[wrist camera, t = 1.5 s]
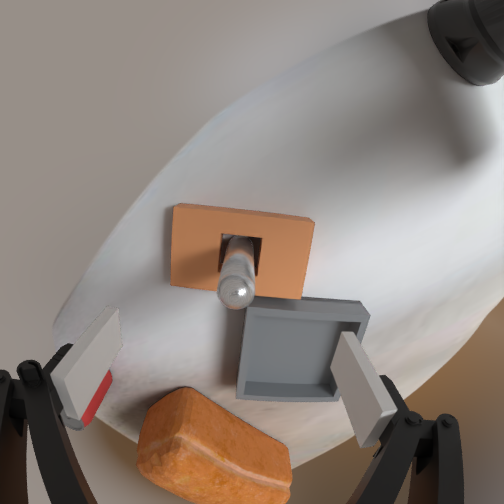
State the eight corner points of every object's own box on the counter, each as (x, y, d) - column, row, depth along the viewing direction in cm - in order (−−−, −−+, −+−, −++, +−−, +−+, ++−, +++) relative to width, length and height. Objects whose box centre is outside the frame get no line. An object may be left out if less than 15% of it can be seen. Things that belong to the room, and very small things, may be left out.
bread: (243, 468, 48) (243, 527, 33) (141, 410, 42) (117, 478, 27) (294, 445, 46) (304, 511, 30) (189, 378, 40) (169, 461, 25)
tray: (359, 300, 36) (370, 315, 32) (332, 384, 40) (338, 401, 37) (247, 291, 35) (247, 306, 32) (236, 380, 40) (235, 398, 36)
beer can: (110, 359, 39) (79, 411, 27) (116, 388, 41) (92, 438, 29) (76, 351, 39) (42, 396, 27) (84, 379, 40) (56, 424, 29)
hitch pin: (254, 236, 33) (258, 282, 20) (251, 261, 34) (253, 318, 21) (228, 233, 33) (216, 277, 20) (226, 258, 34) (213, 314, 21)
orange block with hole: (309, 217, 33) (314, 222, 30) (296, 288, 35) (300, 299, 32) (180, 203, 32) (173, 206, 29) (176, 275, 35) (170, 285, 32)
